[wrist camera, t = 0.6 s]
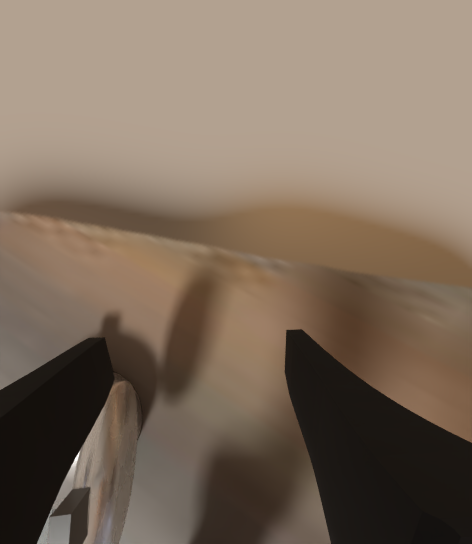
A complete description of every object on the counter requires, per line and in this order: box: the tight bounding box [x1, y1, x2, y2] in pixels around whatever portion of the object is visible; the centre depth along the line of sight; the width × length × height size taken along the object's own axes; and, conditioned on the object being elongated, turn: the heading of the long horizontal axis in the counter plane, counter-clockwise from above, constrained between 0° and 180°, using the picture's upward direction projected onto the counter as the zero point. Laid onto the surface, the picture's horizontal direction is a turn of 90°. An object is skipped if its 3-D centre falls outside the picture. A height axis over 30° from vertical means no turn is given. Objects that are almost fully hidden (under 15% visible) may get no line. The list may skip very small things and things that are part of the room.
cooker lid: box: [47, 381, 137, 544], centre depth 19 cm, size 12×14×1 cm
